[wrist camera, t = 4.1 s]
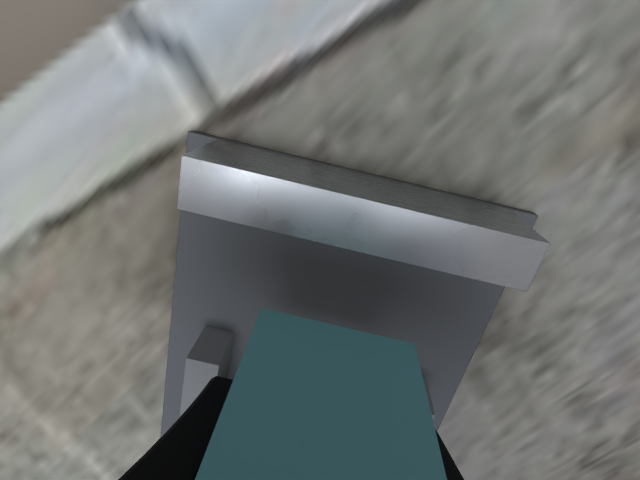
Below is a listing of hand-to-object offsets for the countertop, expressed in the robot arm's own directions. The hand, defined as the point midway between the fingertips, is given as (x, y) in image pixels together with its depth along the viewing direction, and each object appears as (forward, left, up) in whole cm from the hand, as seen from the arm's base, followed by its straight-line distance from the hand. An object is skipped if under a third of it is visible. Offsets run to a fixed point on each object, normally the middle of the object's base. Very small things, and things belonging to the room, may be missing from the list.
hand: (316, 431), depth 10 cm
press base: (0, +3, -6) cm, 7 cm away
